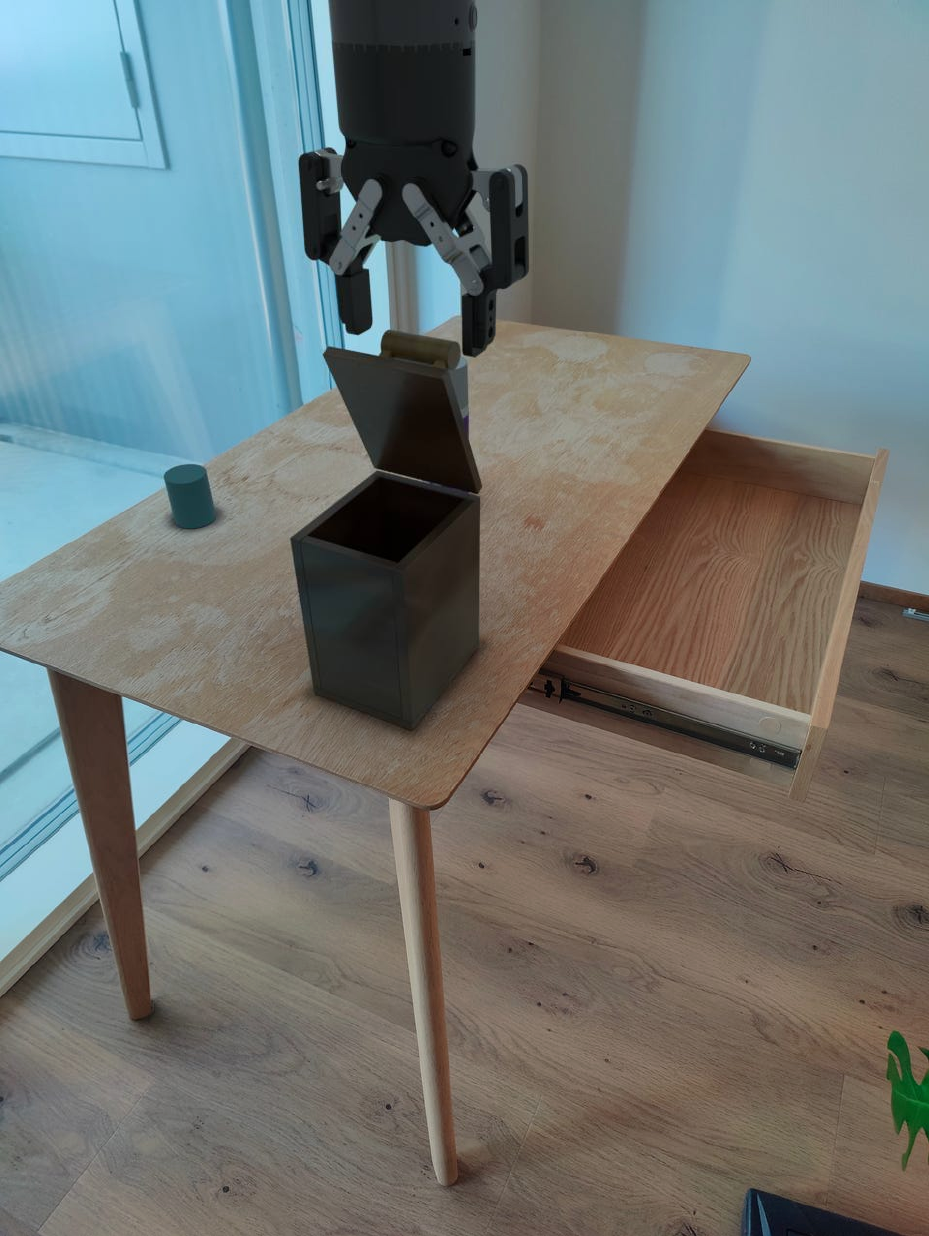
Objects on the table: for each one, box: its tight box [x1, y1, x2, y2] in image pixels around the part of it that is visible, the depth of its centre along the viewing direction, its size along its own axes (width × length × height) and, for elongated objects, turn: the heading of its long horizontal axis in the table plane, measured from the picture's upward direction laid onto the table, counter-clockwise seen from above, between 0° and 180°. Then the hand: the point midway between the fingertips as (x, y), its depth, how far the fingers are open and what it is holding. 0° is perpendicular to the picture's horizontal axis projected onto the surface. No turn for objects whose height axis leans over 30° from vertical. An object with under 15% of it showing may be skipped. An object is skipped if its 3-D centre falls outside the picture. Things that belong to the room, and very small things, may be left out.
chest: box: [289, 469, 481, 732], centre depth 61 cm, size 11×9×14 cm
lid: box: [322, 329, 483, 495], centre depth 56 cm, size 11×9×5 cm
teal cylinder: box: [163, 463, 217, 530], centre depth 82 cm, size 4×4×5 cm
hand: (416, 341), depth 53 cm, fingers open, 8 cm apart
